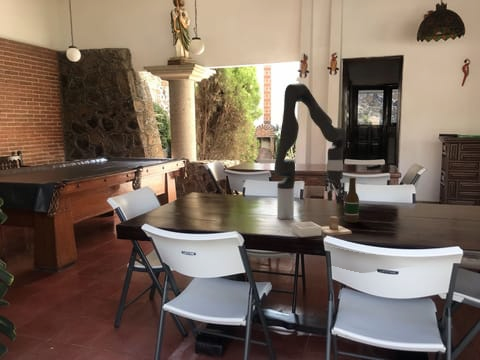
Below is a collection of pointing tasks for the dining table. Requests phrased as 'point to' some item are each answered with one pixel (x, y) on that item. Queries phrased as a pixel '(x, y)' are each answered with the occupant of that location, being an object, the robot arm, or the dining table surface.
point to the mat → (338, 234)
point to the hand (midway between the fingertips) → (334, 202)
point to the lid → (334, 227)
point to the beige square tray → (306, 229)
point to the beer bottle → (351, 203)
